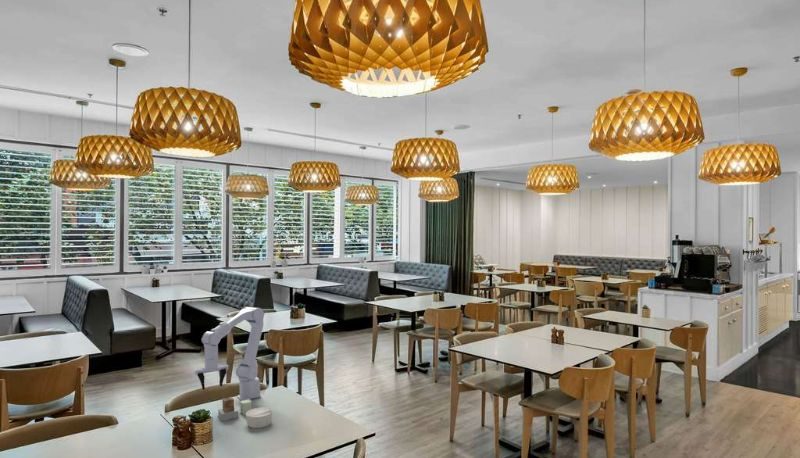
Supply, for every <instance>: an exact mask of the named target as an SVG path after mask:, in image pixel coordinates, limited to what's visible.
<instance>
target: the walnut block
mask: <svg viewBox="0 0 800 458" xmlns="http://www.w3.org/2000/svg"><path fill="white" fill-rule="evenodd" d="M221 400H222V401H221V402H222V403H221V404H222V409H223V411H224V412H230V411H234V406H235V399H234V397H233V396H227V397H223V398H222V399H221Z"/></svg>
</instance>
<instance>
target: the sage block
mask: <svg viewBox="0 0 800 458" xmlns="http://www.w3.org/2000/svg"><path fill="white" fill-rule="evenodd" d="M239 403H240V405H239V406H240V414H242V415H243V416H244V415H246V412H247V411H249V410H251V409H253V407H252V406H253V404H252V403H253V402H252V400H251V399H248V400H243V401H241V400H240V402H239Z"/></svg>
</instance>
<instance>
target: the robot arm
mask: <svg viewBox="0 0 800 458" xmlns="http://www.w3.org/2000/svg"><path fill="white" fill-rule="evenodd" d="M264 318H265V312H264V311H263V309H262V308H261V307H251V306H244V308H242V309H240V311H239V312H238V313H237V314H235V315H234V316H233V317H232V318H230V319H229V320H228V321H227V322H226V321H223V322H219V325H217V326H216V327H215V328H212V329H210V331H206V332H204V333H203V335H202V337H201V339H200V340H201V343H202V344H203V348H204V367H201V368H197V369H194V375H195V376H197V377H198V380H199V382H200V385H201V389H202V390H203V391H205V390H206V388H205V385H206V384H205V375H204V374H207V373H211V372H212V373H213V372H218V375H219V386H220V387H223V382H224V380H225V379H224V378H225V377H226V375H227V372H228V370H229V365H228V364H221V365H220V364H219V343H221V342H220V341H221V339H223V338H224V337H225V336H227V335H228V334H229V333H232V332H231V331H232V329H233V328H234V327H236V326H237V325H238V324H240V323H242V322H243V321H246V322H247V323H249V325H250V333H249V335H248V336H249V337H248V339H247V344H246V348H245V353H244V355H243V356H244V357H243V358H242V359H241V360H240V361H239V363H238V365H237V367H236V370H235V376H236V377H238V381H239V382H238V383H239V394H238V395H236V396H237V398H238V399H239V400H240V401H243V400H248V399H249V400H252V399H257V398H258V399H259V398H261V396H262V395H261V380H260V378H259V377H258V373H259V369H258V368H259V365H258V363H257V361H256V358H257V355H258V349H259V346H260V342H261V337H262V332H263V330H264V329H263V328H264Z"/></svg>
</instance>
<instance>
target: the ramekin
mask: <svg viewBox="0 0 800 458" xmlns="http://www.w3.org/2000/svg"><path fill="white" fill-rule="evenodd" d="M273 412H274V411H273V409H272V408H271V407H267V406H265V407H264V406H262V407H261V406H260V407H259V406H258V407H255V408H252V409H251V410H249V411H247V412H246V414H245V418H246V422H247V426H248V427H249V428H251V429H262V428H265V427H268V426H269V425H270V424H271V423H272V420H273V419H272V418H273V417H272V416H273Z"/></svg>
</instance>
